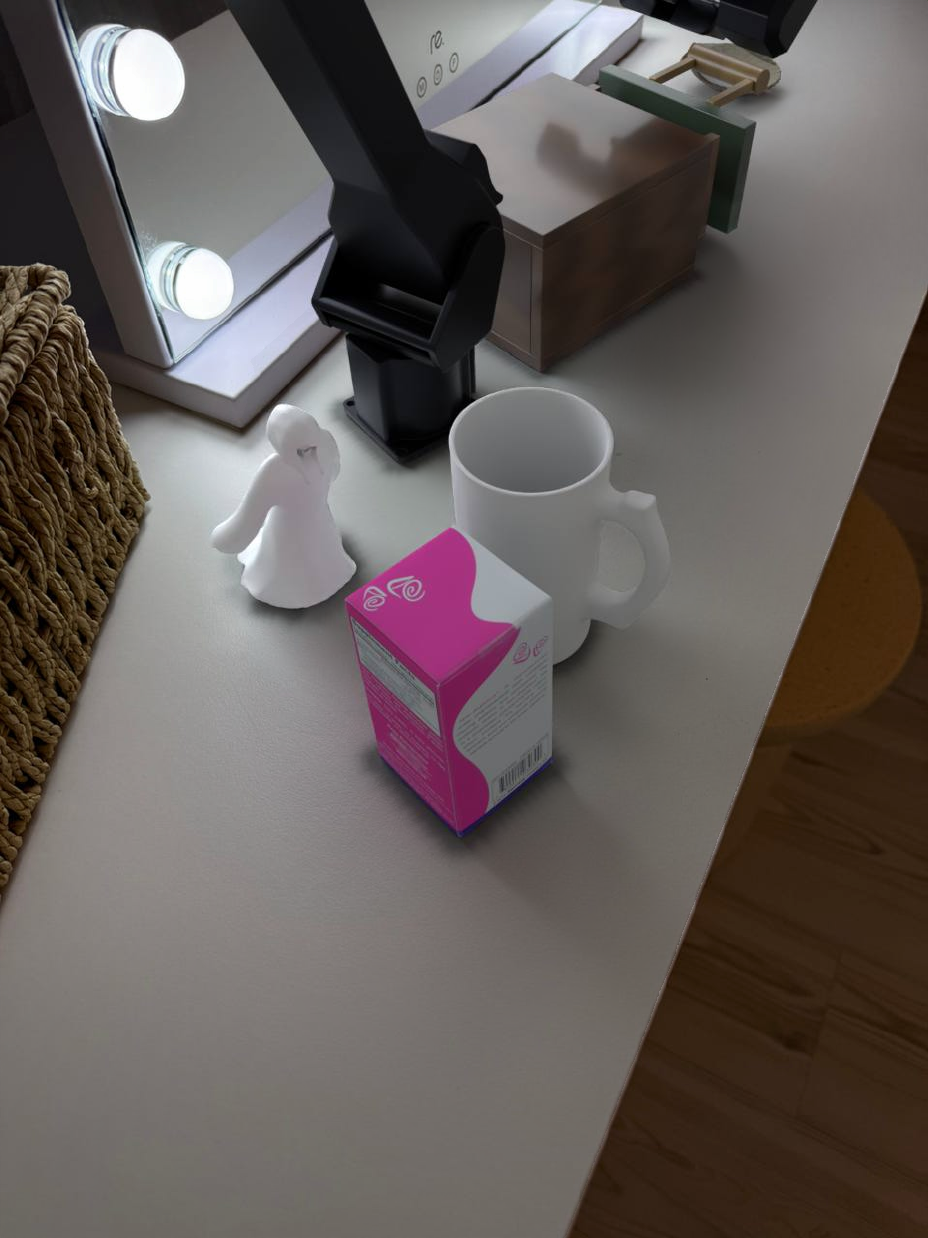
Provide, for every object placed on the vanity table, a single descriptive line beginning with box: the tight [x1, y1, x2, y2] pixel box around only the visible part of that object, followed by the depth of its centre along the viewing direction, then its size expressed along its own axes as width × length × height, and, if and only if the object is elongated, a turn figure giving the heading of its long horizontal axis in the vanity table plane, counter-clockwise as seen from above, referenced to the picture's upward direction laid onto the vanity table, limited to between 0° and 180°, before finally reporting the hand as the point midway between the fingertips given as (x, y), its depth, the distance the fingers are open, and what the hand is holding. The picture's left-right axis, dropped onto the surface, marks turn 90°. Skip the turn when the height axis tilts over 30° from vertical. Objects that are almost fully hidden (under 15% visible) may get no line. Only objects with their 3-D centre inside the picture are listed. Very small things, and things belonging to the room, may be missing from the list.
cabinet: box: [429, 72, 714, 373], centre depth 67 cm, size 15×14×9 cm
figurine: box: [209, 403, 358, 610], centre depth 50 cm, size 8×8×12 cm
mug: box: [448, 386, 671, 666], centre depth 46 cm, size 10×7×12 cm, turn 60°
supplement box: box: [344, 524, 554, 838], centre depth 42 cm, size 6×6×12 cm
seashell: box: [679, 42, 782, 95], centre depth 86 cm, size 8×3×8 cm
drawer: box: [586, 44, 770, 238], centre depth 70 cm, size 19×13×8 cm, turn 133°
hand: (724, 31), depth 68 cm, fingers closed
